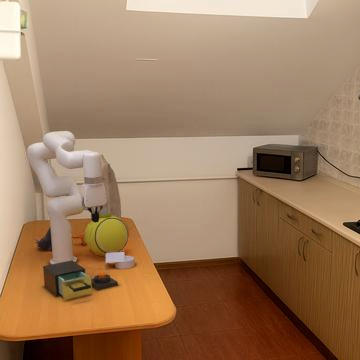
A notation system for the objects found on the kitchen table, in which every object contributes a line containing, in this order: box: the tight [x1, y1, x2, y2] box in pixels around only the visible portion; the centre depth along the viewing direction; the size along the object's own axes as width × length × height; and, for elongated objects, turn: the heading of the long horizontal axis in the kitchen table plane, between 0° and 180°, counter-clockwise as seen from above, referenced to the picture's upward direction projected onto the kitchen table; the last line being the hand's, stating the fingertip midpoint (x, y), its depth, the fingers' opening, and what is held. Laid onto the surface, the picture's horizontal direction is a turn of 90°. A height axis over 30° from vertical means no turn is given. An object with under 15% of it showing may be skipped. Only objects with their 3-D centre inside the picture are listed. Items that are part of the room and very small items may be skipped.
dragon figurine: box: [34, 226, 86, 251], centre depth 290 cm, size 10×12×25 cm
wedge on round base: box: [105, 251, 135, 270], centre depth 260 cm, size 9×7×13 cm
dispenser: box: [42, 260, 86, 297], centre depth 231 cm, size 15×13×9 cm
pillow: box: [94, 153, 122, 221], centre depth 317 cm, size 44×14×43 cm, turn 19°
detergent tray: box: [57, 271, 93, 300], centre depth 223 cm, size 18×11×7 cm, turn 38°
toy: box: [84, 201, 130, 258], centre depth 275 cm, size 23×22×30 cm
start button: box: [97, 271, 107, 278], centre depth 235 cm, size 4×4×2 cm
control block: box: [91, 273, 119, 291], centre depth 236 cm, size 11×9×4 cm
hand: (95, 221), depth 242 cm, fingers closed
